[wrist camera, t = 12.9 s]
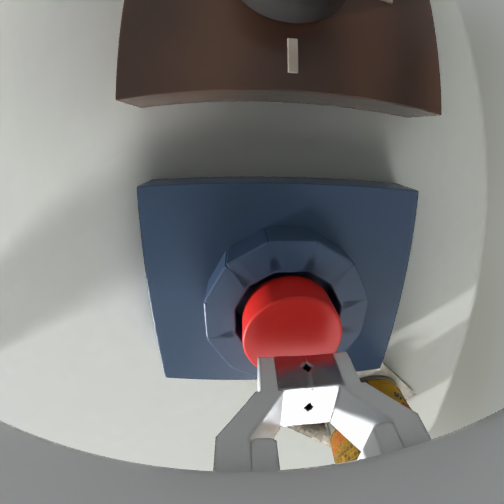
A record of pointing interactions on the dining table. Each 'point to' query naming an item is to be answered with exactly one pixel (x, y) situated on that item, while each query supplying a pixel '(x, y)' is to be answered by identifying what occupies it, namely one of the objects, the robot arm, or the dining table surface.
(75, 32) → the dining table surface
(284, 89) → the dial panel
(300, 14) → the dial
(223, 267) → the button housing
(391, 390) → the condiment
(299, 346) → the button
